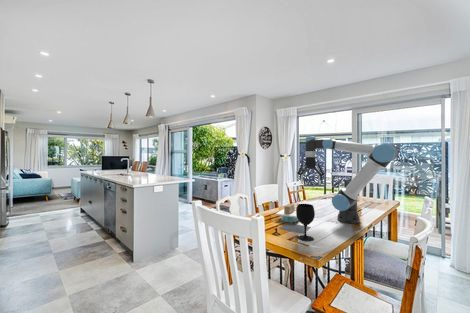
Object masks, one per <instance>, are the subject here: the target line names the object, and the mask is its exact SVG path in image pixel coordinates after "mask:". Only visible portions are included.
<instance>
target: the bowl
mask: <svg viewBox="0 0 470 313" xmlns="http://www.w3.org/2000/svg"><path fill="white" fill-rule="evenodd" d="M280 220H281V221H282V222H286V223H297V222H299V220H298V218H297V217H296V218H294V217H288V216H281V215H280Z"/></svg>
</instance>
